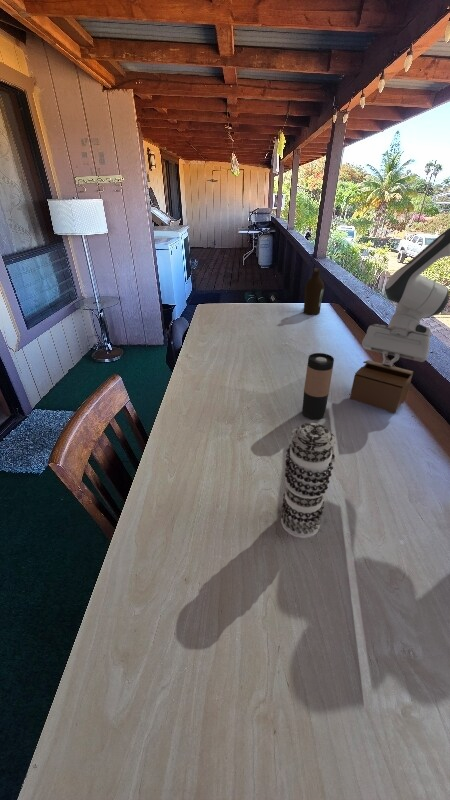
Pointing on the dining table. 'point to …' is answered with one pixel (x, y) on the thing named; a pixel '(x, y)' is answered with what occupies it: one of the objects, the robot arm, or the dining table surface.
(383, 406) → the carton
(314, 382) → the travel mug
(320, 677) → the dining table surface
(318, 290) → the olive oil
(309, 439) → the decorative candle
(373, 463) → the dining table surface
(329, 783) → the dining table surface
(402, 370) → the flap
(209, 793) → the dining table surface
